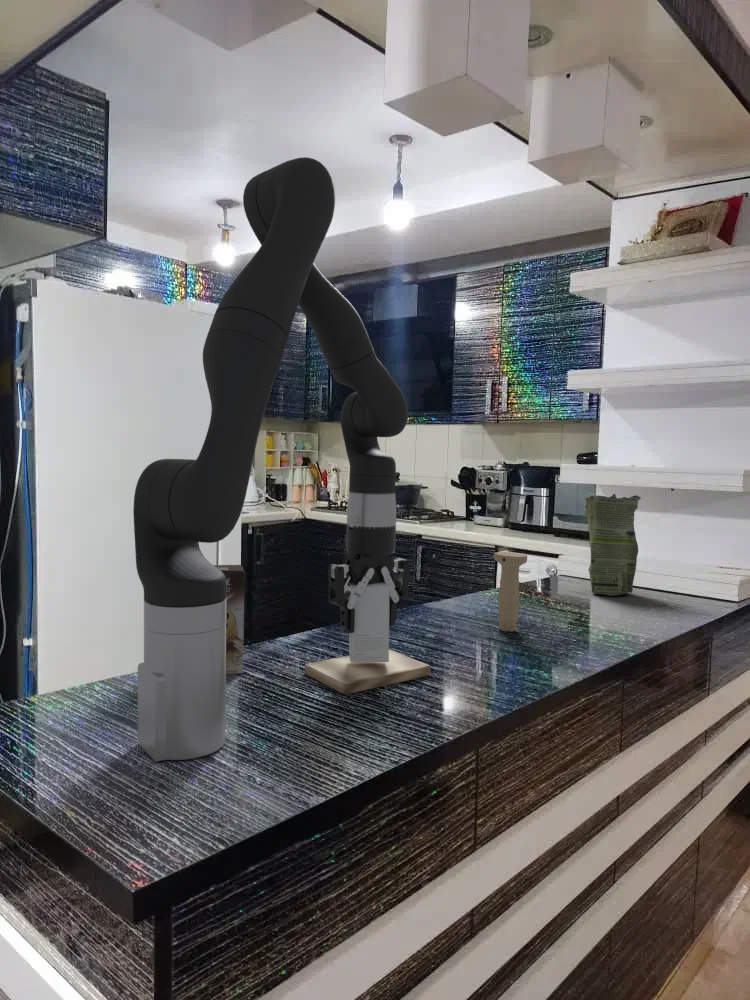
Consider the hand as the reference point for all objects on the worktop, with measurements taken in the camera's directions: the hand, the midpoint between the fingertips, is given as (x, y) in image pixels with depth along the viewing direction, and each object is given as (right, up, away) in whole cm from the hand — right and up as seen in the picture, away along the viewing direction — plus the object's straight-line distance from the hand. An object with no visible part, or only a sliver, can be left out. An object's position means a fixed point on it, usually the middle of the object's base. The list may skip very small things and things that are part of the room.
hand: (368, 628), depth 109 cm
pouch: (+60, -4, +69) cm, 91 cm away
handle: (+27, -6, +30) cm, 40 cm away
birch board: (0, -7, +1) cm, 7 cm away
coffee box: (-24, -7, +1) cm, 25 cm away
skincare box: (0, -5, 0) cm, 5 cm away
